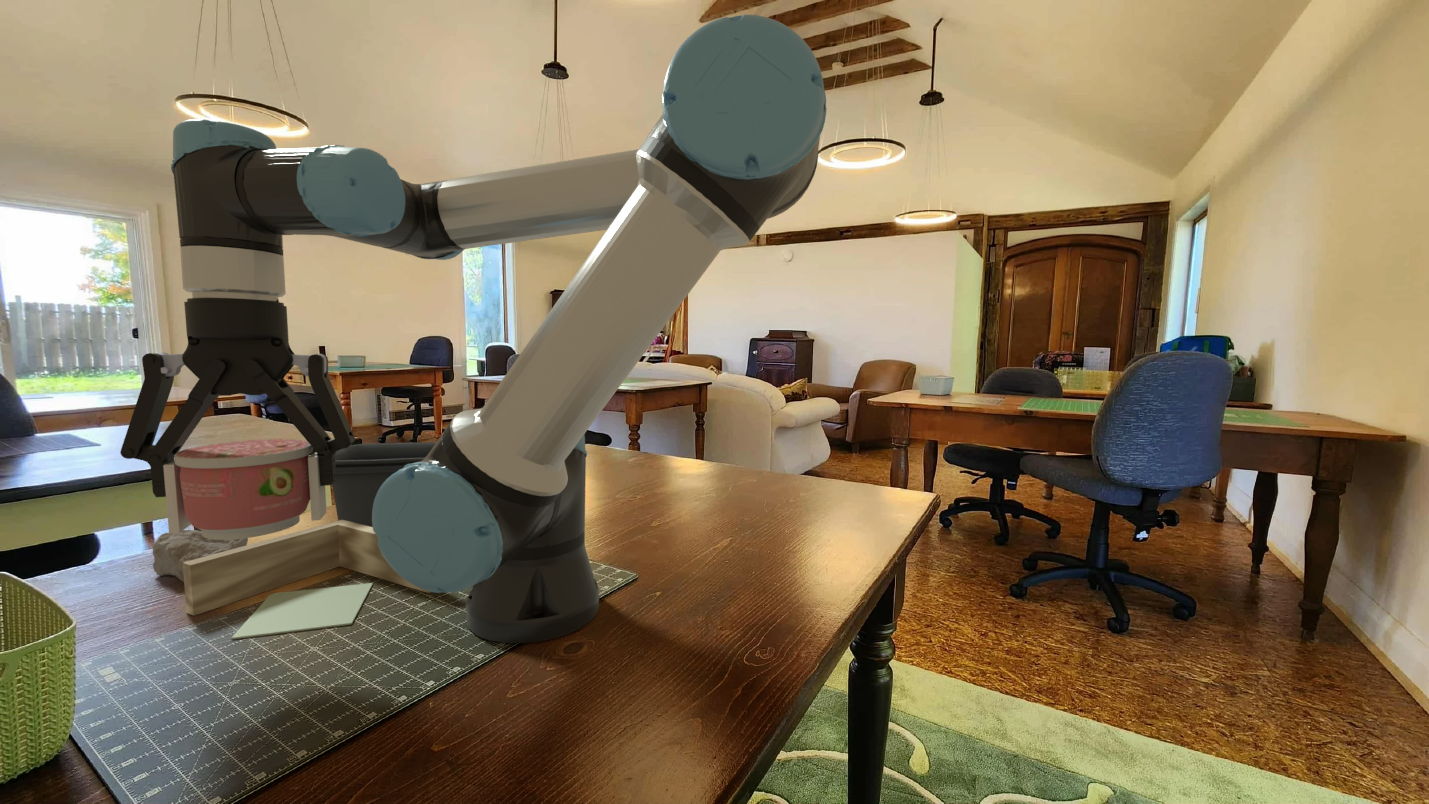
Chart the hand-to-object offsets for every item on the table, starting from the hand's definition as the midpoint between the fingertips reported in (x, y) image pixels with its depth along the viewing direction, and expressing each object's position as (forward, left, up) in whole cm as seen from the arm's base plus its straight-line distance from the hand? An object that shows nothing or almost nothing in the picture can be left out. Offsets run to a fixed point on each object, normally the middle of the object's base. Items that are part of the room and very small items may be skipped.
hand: (252, 522), depth 57 cm
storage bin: (+19, -31, -14) cm, 38 cm away
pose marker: (+5, -8, -14) cm, 16 cm away
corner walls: (+6, -10, -14) cm, 18 cm away
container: (0, 0, -1) cm, 1 cm away
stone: (+28, -7, -14) cm, 32 cm away
